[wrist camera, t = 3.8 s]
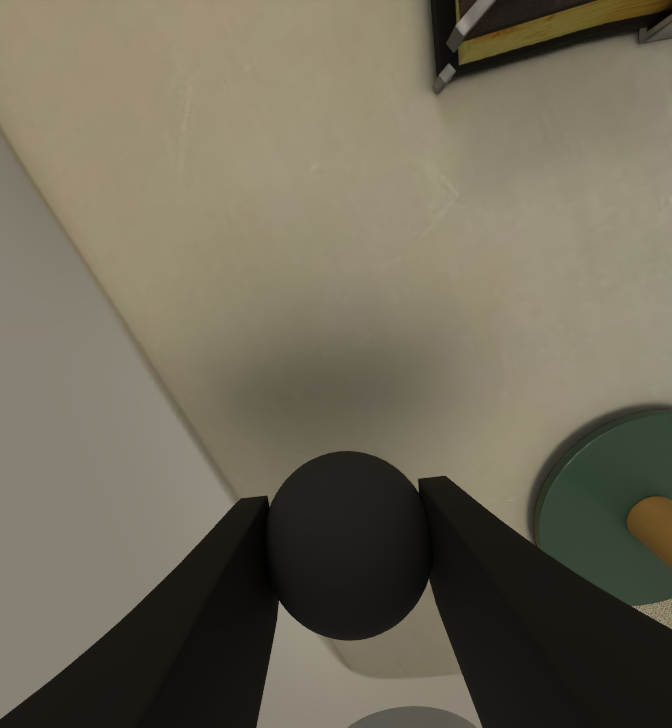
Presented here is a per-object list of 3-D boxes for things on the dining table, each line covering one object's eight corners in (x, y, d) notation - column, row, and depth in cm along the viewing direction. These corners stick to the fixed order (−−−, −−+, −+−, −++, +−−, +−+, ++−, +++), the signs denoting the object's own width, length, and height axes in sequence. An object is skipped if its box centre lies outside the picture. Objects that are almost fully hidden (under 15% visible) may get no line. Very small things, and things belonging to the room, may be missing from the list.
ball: (416, 538, 10) (462, 679, 7) (286, 553, 10) (264, 700, 7) (408, 417, 9) (455, 508, 6) (265, 433, 9) (226, 532, 6)
